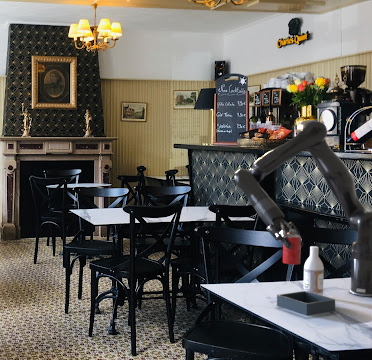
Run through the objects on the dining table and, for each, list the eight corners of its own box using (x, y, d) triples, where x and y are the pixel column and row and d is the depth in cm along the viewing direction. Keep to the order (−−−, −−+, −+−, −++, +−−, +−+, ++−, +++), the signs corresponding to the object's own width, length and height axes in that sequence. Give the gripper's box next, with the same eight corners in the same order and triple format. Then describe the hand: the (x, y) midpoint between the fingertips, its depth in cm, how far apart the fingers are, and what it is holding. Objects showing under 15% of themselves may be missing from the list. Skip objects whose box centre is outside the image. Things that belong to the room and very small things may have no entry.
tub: (304, 304, 222) (304, 290, 221) (335, 313, 209) (335, 299, 209) (276, 308, 216) (277, 294, 216) (306, 318, 204) (306, 304, 204)
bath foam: (316, 301, 226) (317, 249, 225) (299, 297, 232) (300, 246, 230) (326, 298, 230) (328, 247, 228) (310, 294, 235) (311, 244, 234)
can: (291, 260, 225) (291, 233, 224) (303, 263, 220) (304, 235, 219) (279, 262, 223) (279, 234, 222) (291, 265, 217) (292, 236, 216)
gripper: (263, 206, 222) (291, 242, 213) (286, 204, 230) (314, 239, 221) (251, 219, 227) (277, 255, 218) (274, 216, 235) (300, 250, 226)
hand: (295, 246), depth 219 cm, fingers closed on can, 6 cm apart
